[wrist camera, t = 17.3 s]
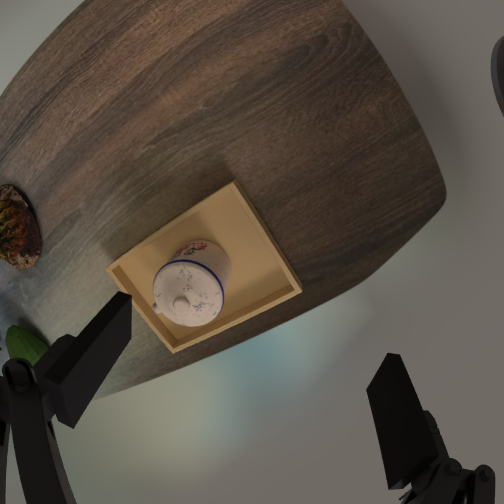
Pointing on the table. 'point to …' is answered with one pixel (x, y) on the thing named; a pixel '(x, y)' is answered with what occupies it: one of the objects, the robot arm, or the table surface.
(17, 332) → the fruit
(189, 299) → the teacup with lid
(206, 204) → the tray
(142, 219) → the table surface
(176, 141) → the table surface
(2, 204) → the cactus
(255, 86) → the table surface
